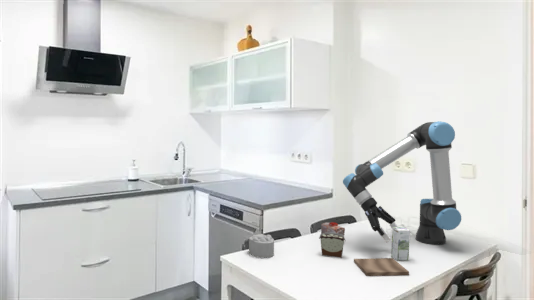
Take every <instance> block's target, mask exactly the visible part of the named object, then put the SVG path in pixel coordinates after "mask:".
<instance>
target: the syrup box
mask: <svg viewBox="0 0 534 300" xmlns="http://www.w3.org/2000/svg"><path fill="white" fill-rule="evenodd" d="M391 231H392V232H391V252H390V253H391V255H390V256H391V257H390V258H393V259H394V260H395V261H397V262H400V261H401V262H402V261H403V262H404V261H409V258H410V240H411V239H410V236H411V234H410V233H411V230H410V229H408V227H405V226H398V227H393V228H391Z"/></svg>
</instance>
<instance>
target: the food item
mask: <svg viewBox="0 0 534 300" xmlns="http://www.w3.org/2000/svg"><path fill="white" fill-rule="evenodd" d="M345 231H346V229H345V227H342V226H340V225H339V224H338V223H337V222H335V221H334V222H333V221H331V222H324V223H323V222H322V223H321V228H320V234H322V233H338V234H342V235H344V236H345Z"/></svg>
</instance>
